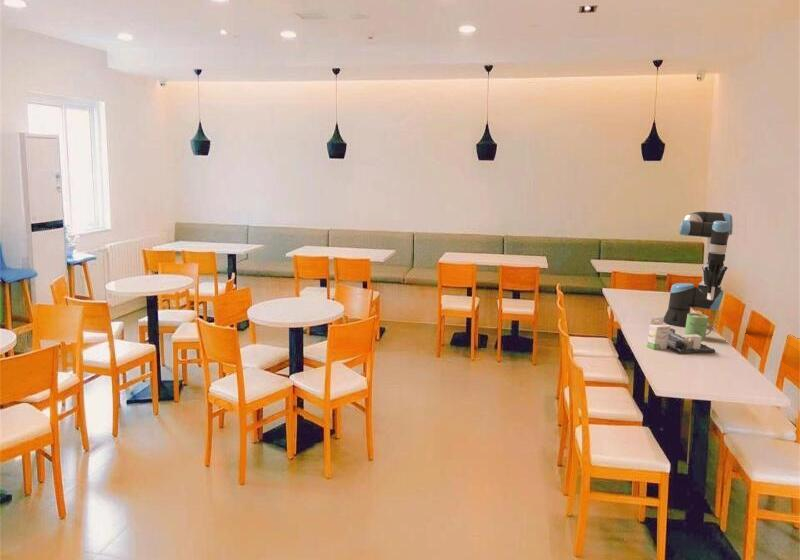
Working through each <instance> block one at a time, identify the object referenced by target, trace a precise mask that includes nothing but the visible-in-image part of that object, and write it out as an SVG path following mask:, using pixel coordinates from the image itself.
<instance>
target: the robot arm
mask: <svg viewBox="0 0 800 560" xmlns="http://www.w3.org/2000/svg"><path fill="white" fill-rule="evenodd" d="M679 235H681V236H686V237H687V236H689V237H701V238H702V237H703V238H707V245H706V251H705V257H704V263H703V266H702V267H701V268H702V278H701V281H700V282H698V286H695V284H694V283H690V282H677V283H674V284H672V285H671V288H670V292H669V293H670V295H669V300H668V301H669V302H668V308H667V311H666V312H665V315H664V316H663V318H664V320H663V323H664V324H666V325H672V326H677V327H686V321H687V314H688V313H691V309H692V308H695V309H696V308H697V309H703V310H707V311H709V310H711V311H716V310H718V309H719V308H720V305H721V303H722V299H723V295H724V289H722V286H721V284H722V281H723V279H724V276H725V273H726V271H727V270H728V266H725V263H724V262H725V261H726V253H727V247H728V241H729V237H730V236H732V235H733V215H732V214H731V213H726V212H717V211H716V212H715V211H714V212H712V211H694V212H692V213H689V214H687V215H685V217H684V219H683V220H681V221H680V224H679Z"/></svg>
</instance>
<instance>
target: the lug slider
mask: <svg viewBox="0 0 800 560" xmlns="http://www.w3.org/2000/svg"><path fill="white" fill-rule="evenodd" d="M681 336H682V337H685V338H689V340H690V341H693V342H694V344H693V348H692V349H700V345H701V344H702V340H701V339H702V337H701V336H699V335H697V334H689V335H684V334H682V335H681Z"/></svg>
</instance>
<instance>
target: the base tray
mask: <svg viewBox="0 0 800 560" xmlns="http://www.w3.org/2000/svg"><path fill="white" fill-rule="evenodd" d="M669 331H671V332H673V333H675V334H676V329H674V328H671V327H670V330H669ZM669 337H673V336H671V335H669ZM684 338H685V337H684ZM686 339H688V340H689V338H686ZM692 348H693V344H688V343H685V344H684V346H674V345H672V344H670V343H668V344H667V348H666V349H668V350H670V351H672V352H674V353H676V354H678V355H689V354H690V355H691V354H694V355H695V354H697V355H698V354H716V349H715V348H711V347H709V346H707V344H703V343H701V345H700V349H692Z"/></svg>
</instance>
